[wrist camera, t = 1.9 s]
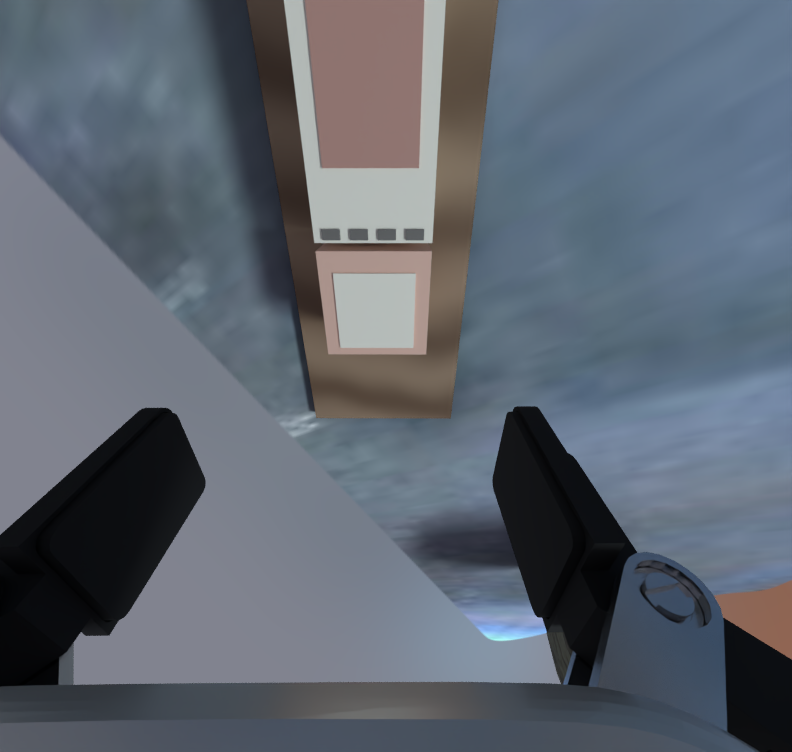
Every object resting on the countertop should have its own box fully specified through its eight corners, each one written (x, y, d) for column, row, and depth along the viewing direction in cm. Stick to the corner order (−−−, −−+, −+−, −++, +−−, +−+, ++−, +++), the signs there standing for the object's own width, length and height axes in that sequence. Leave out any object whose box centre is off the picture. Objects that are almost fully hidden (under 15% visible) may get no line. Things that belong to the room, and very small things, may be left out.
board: (210, -257, 12) (199, -282, 12) (523, -259, 12) (530, -285, 12) (318, 412, 30) (316, 417, 29) (449, 412, 29) (450, 418, 29)
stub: (331, 236, 21) (315, 251, 17) (425, 237, 20) (432, 251, 16) (339, 324, 24) (328, 355, 20) (421, 325, 24) (426, 355, 20)
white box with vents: (291, -186, 13) (235, -372, 8) (443, -187, 13) (467, -374, 8) (331, 229, 21) (313, 243, 16) (425, 229, 21) (432, 243, 16)
